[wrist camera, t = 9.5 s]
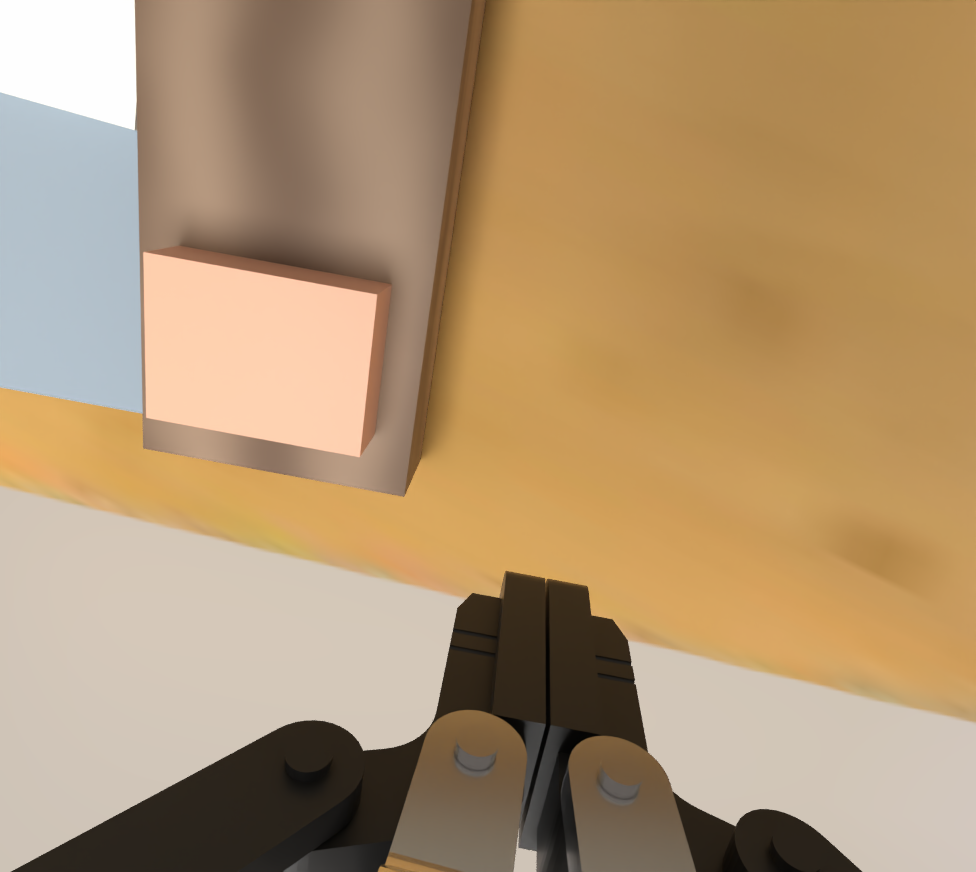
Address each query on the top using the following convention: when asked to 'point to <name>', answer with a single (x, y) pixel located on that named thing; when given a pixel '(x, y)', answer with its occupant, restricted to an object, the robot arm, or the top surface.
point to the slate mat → (69, 256)
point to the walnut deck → (311, 178)
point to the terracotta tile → (263, 348)
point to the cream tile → (71, 56)
